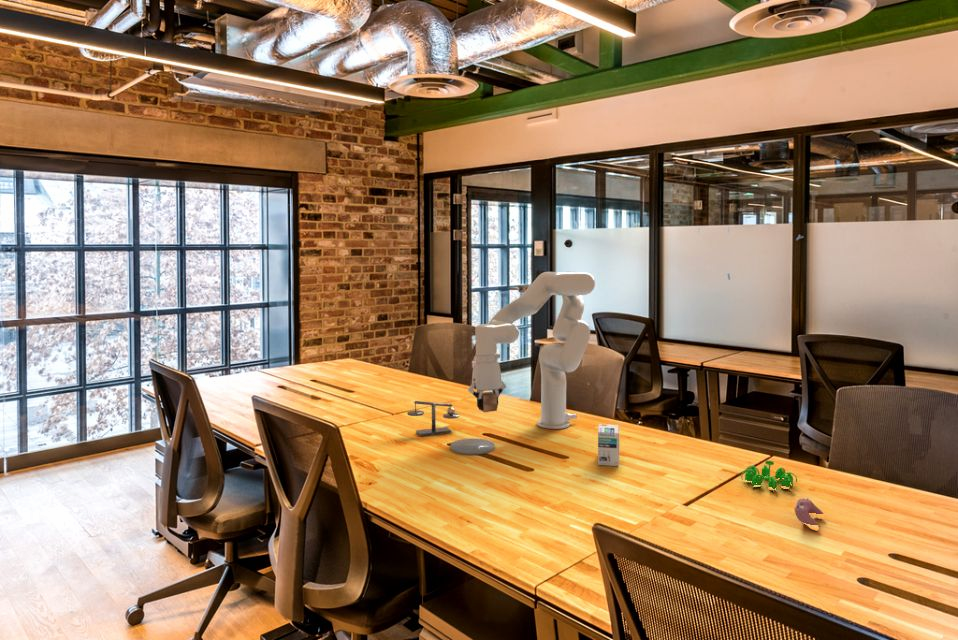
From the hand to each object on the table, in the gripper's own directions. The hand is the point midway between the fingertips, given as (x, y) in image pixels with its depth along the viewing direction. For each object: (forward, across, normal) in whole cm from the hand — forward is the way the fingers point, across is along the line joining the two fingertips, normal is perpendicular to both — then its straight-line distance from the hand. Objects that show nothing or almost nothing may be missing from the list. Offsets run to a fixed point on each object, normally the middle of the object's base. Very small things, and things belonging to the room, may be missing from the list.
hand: (487, 407), depth 244 cm
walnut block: (+1, 0, 0) cm, 1 cm away
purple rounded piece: (+12, -42, +102) cm, 111 cm away
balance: (+10, +17, -12) cm, 23 cm away
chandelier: (+12, -54, +78) cm, 96 cm away
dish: (+10, +11, +11) cm, 19 cm away
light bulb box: (+11, -24, +41) cm, 49 cm away
